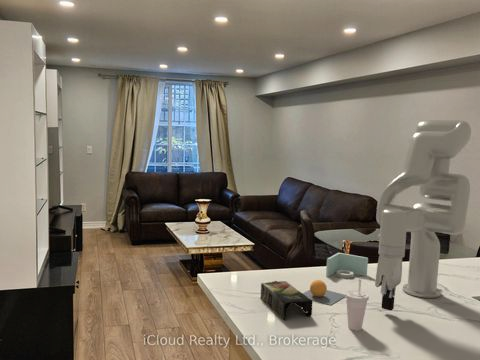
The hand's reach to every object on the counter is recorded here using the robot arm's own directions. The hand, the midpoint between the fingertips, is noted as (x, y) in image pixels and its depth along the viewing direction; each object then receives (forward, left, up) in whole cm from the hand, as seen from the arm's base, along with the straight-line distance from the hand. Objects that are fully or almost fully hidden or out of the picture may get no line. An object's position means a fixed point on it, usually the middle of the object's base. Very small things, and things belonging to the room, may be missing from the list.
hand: (387, 308), depth 143 cm
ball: (+2, -23, +1) cm, 23 cm away
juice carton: (+17, -26, -2) cm, 31 cm away
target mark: (0, -22, -2) cm, 22 cm away
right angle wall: (-27, -26, -2) cm, 37 cm away
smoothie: (+17, -3, -2) cm, 17 cm away
